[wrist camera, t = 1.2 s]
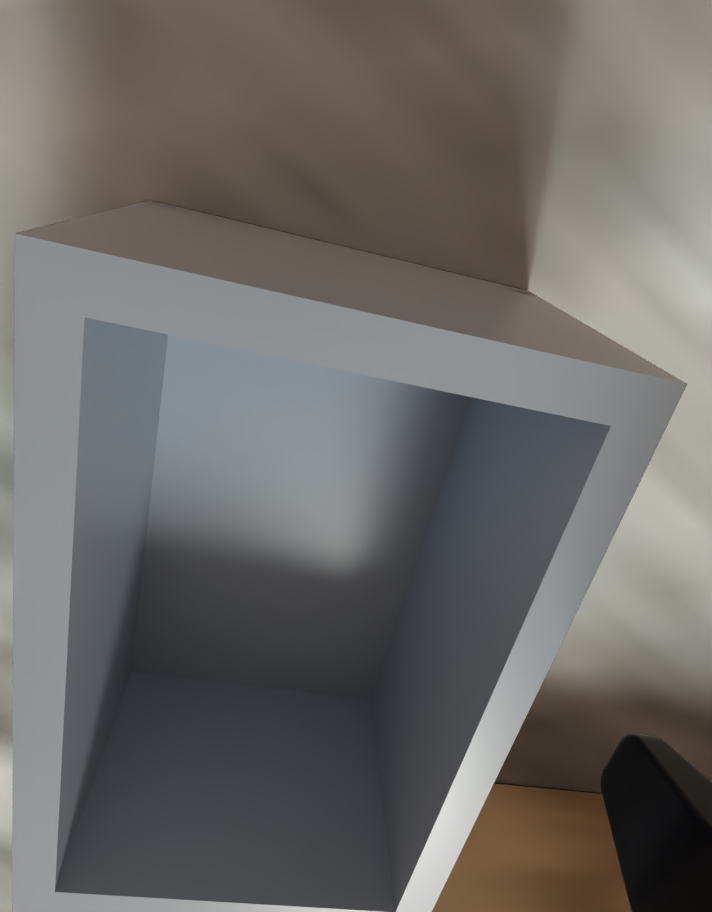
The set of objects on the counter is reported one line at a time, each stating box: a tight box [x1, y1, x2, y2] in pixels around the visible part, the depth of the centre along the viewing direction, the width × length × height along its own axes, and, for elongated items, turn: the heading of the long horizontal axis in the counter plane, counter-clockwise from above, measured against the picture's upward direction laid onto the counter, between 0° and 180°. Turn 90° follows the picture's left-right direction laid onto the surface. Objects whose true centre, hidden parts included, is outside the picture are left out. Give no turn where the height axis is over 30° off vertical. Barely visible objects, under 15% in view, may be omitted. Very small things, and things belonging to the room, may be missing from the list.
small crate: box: [12, 200, 687, 912], centre depth 10 cm, size 10×6×5 cm, turn 167°
